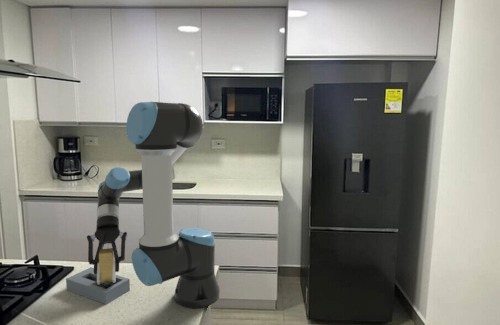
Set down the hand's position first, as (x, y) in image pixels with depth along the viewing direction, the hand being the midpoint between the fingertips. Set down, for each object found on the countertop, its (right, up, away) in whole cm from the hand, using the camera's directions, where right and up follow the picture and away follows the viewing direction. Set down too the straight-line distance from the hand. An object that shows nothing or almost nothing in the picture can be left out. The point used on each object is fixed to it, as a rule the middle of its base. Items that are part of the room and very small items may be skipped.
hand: (106, 282), depth 109 cm
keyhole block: (-6, -5, +7) cm, 10 cm away
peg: (-1, -5, +4) cm, 7 cm away
